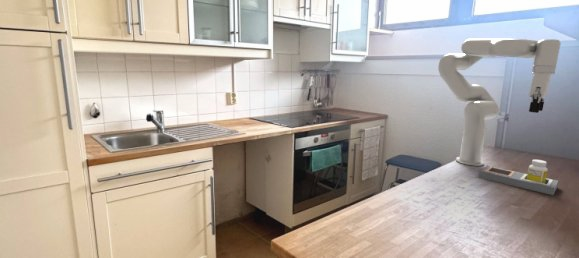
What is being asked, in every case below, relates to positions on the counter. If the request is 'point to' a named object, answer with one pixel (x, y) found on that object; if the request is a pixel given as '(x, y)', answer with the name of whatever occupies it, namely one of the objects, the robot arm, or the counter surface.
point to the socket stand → (517, 179)
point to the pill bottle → (537, 171)
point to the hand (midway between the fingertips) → (535, 111)
